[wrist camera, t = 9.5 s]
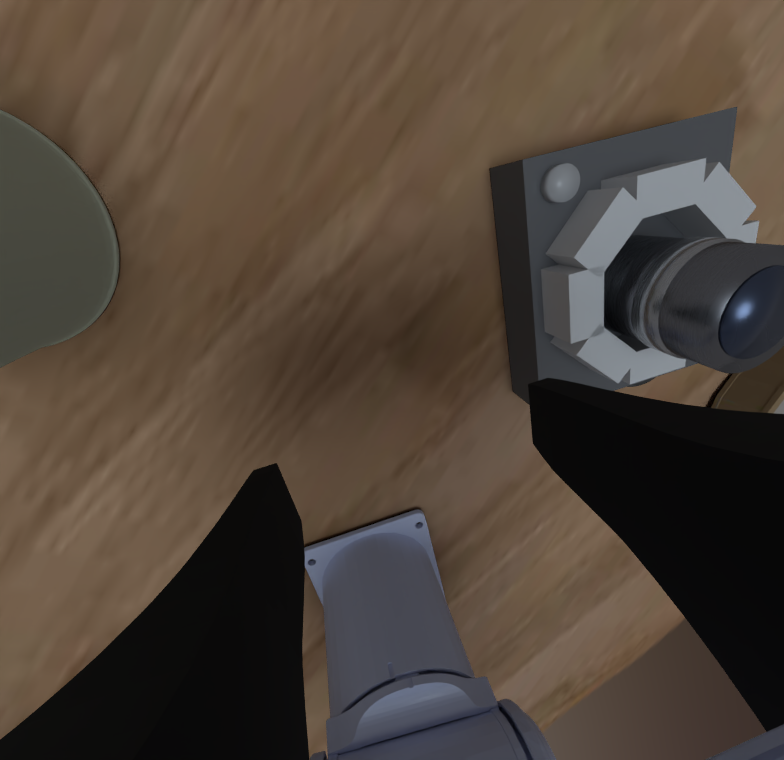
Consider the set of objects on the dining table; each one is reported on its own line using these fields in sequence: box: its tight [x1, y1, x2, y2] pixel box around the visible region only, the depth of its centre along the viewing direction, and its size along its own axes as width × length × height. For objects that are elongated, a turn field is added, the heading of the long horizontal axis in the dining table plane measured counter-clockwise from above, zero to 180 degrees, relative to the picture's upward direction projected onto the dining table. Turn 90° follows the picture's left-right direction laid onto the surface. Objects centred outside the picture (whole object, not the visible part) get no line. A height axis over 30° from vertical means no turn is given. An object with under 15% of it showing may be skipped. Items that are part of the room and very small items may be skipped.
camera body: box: [490, 107, 759, 405], centre depth 19 cm, size 12×10×5 cm
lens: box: [604, 235, 784, 373], centre depth 16 cm, size 5×5×6 cm
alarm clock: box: [711, 346, 784, 414], centre depth 28 cm, size 11×5×15 cm
